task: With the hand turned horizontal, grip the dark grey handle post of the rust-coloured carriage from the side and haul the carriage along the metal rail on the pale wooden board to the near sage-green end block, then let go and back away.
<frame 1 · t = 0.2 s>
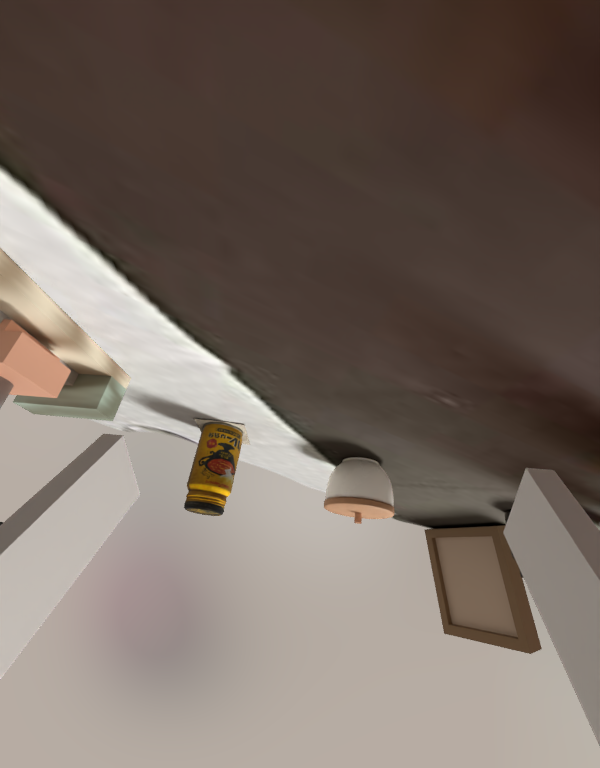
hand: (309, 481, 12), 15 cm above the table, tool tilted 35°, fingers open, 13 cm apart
photo frame: (475, 528, 94), on the table
lidded jar: (360, 461, 58), on the table
condiment: (224, 429, 53), on the table
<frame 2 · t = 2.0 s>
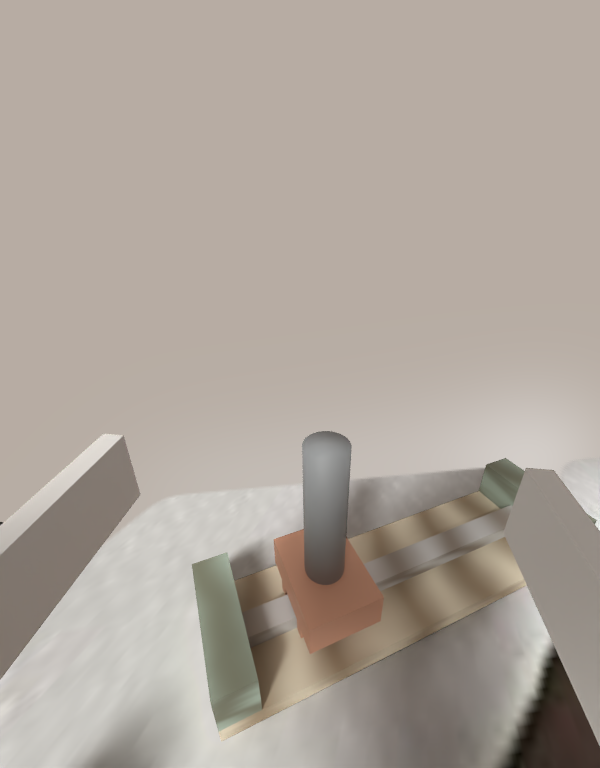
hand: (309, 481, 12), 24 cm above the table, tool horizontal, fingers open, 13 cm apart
carriage: (324, 532, 27), point 10 cm above the table, slide at 8.0 cm
rail track: (398, 580, 34), on the table
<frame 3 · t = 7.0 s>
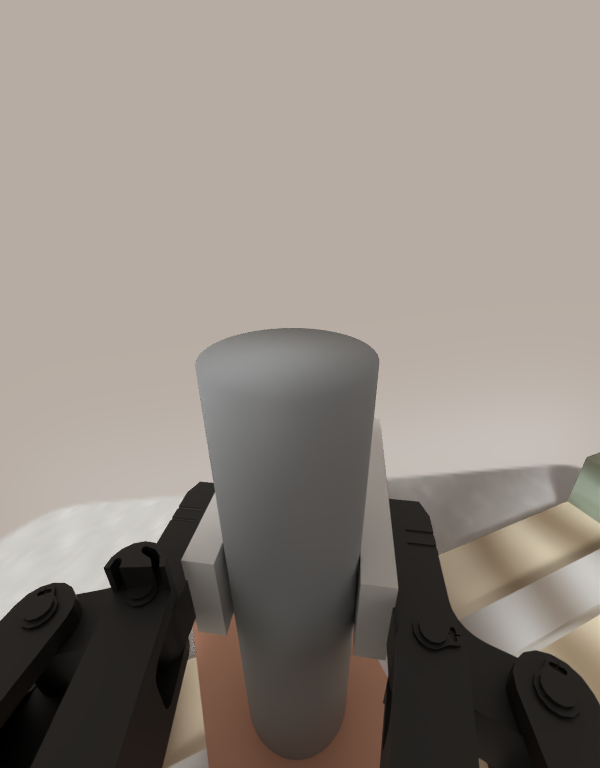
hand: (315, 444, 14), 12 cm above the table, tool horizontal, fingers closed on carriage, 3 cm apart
carriage: (295, 622, 10), point 10 cm above the table, slide at 8.0 cm, touching gripper
rail track: (451, 682, 17), on the table
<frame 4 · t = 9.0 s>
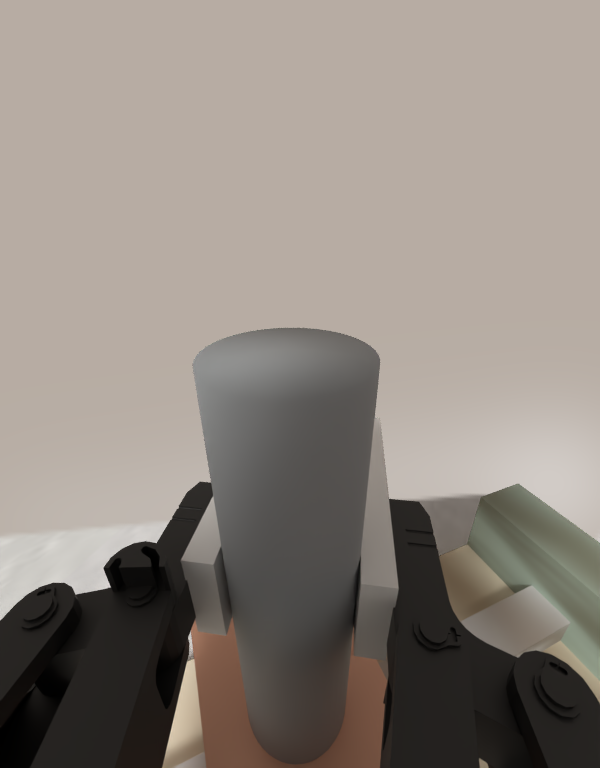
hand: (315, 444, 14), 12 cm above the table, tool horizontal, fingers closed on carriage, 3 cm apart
carriage: (294, 625, 10), point 10 cm above the table, slide at -1.5 cm, touching gripper
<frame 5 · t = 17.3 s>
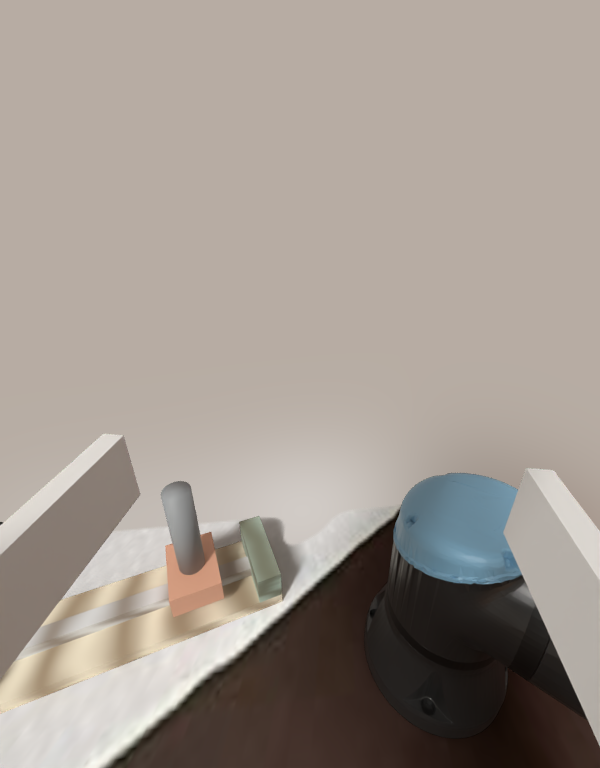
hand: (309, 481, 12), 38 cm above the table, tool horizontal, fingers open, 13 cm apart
carriage: (187, 541, 42), point 10 cm above the table, slide at -7.9 cm
rail track: (135, 618, 44), on the table
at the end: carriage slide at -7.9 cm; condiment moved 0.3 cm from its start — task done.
